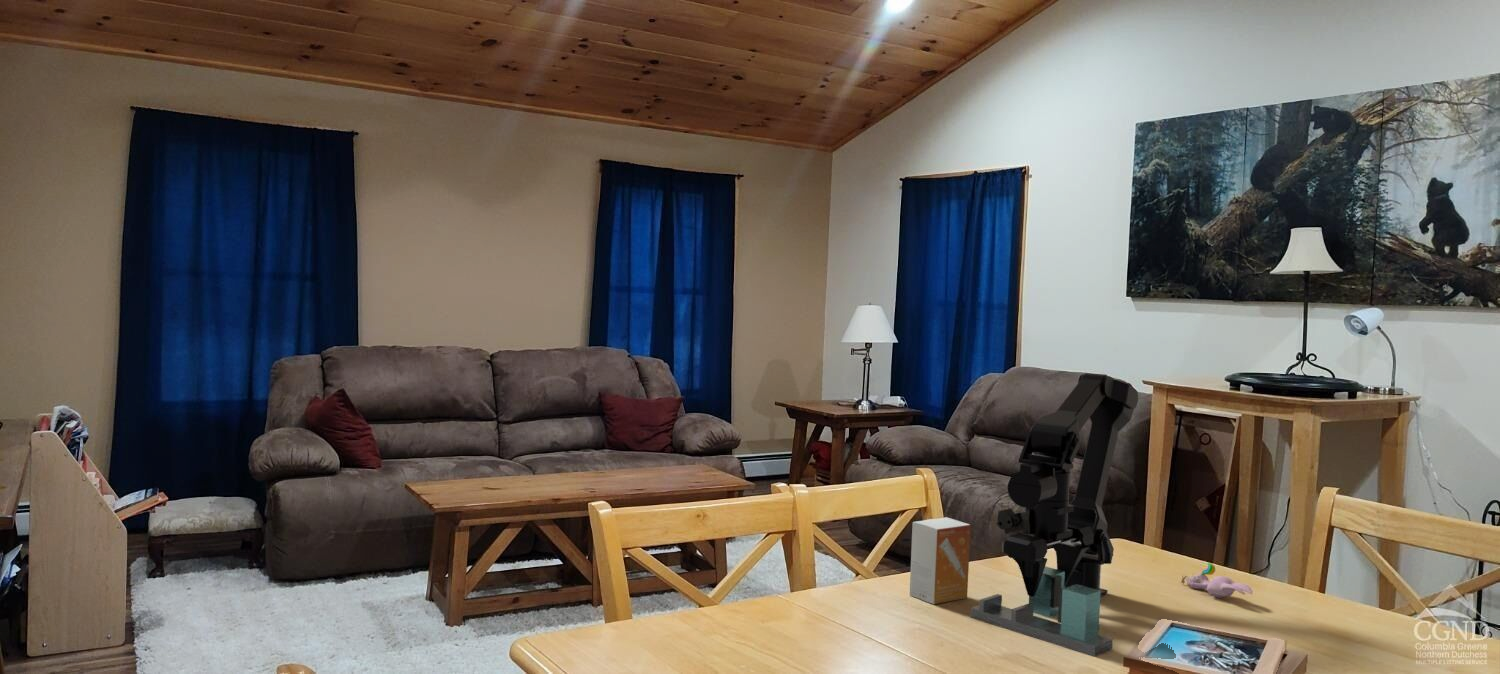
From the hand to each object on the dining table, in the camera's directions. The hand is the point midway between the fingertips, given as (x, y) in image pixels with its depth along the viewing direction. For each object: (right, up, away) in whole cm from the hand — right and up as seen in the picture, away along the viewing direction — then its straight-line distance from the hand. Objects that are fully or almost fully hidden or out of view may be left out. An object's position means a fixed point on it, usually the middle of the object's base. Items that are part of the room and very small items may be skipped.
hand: (1046, 590), depth 170 cm
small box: (-17, -3, +7) cm, 18 cm away
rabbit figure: (+34, -4, +12) cm, 36 cm away
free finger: (0, -4, 0) cm, 4 cm away
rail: (-4, -4, -10) cm, 12 cm away
